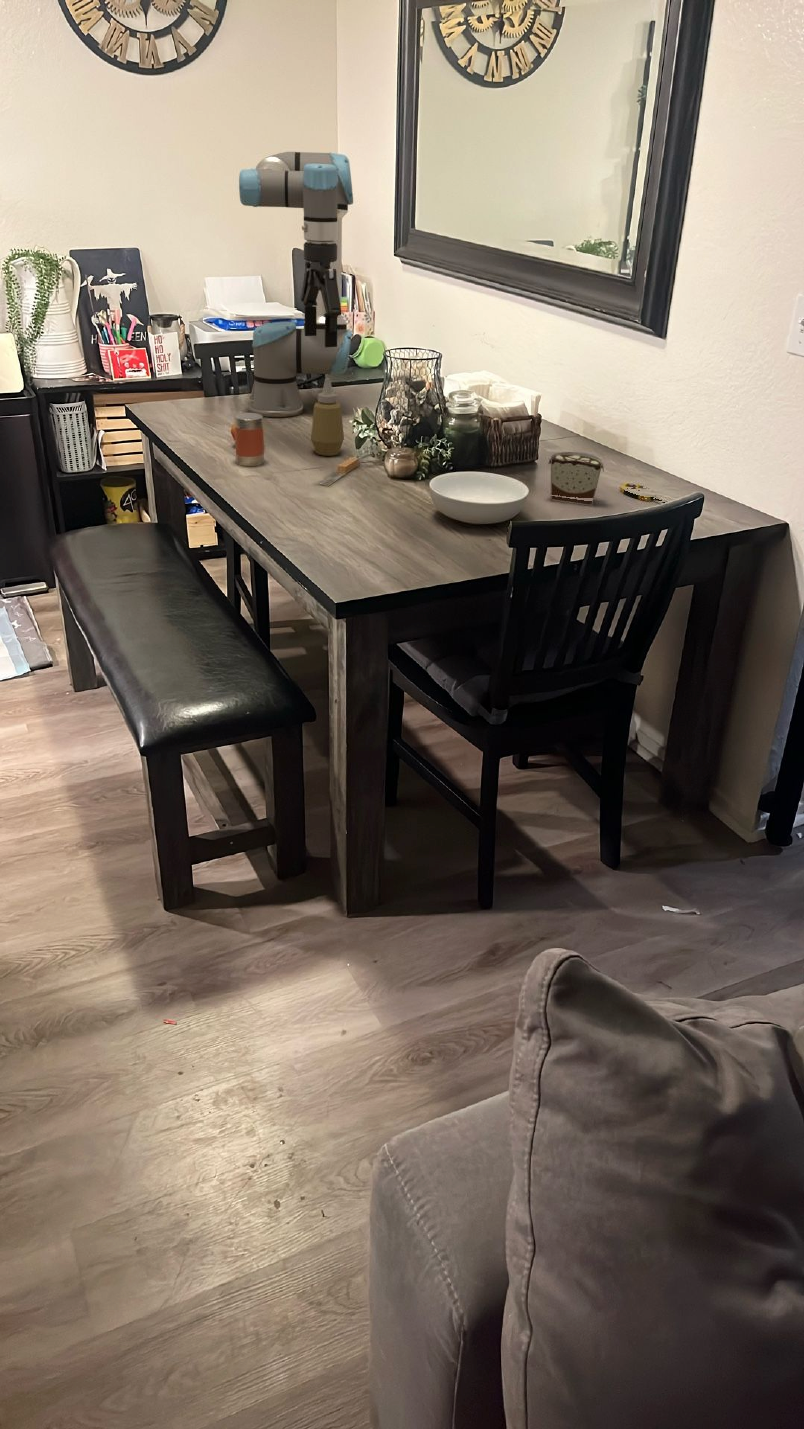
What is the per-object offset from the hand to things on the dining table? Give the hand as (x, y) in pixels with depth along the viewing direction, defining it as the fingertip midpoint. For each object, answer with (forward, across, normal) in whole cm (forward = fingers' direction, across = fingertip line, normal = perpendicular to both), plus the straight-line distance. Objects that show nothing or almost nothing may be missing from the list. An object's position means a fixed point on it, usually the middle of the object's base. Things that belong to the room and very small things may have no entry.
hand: (320, 341), depth 248 cm
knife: (+27, +15, -1) cm, 31 cm away
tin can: (+27, 0, -18) cm, 33 cm away
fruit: (+27, -14, -14) cm, 34 cm away
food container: (+27, +48, +43) cm, 70 cm away
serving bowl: (+27, +52, +16) cm, 61 cm away
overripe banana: (+27, +53, +59) cm, 84 cm away
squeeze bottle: (+27, -2, +3) cm, 28 cm away
